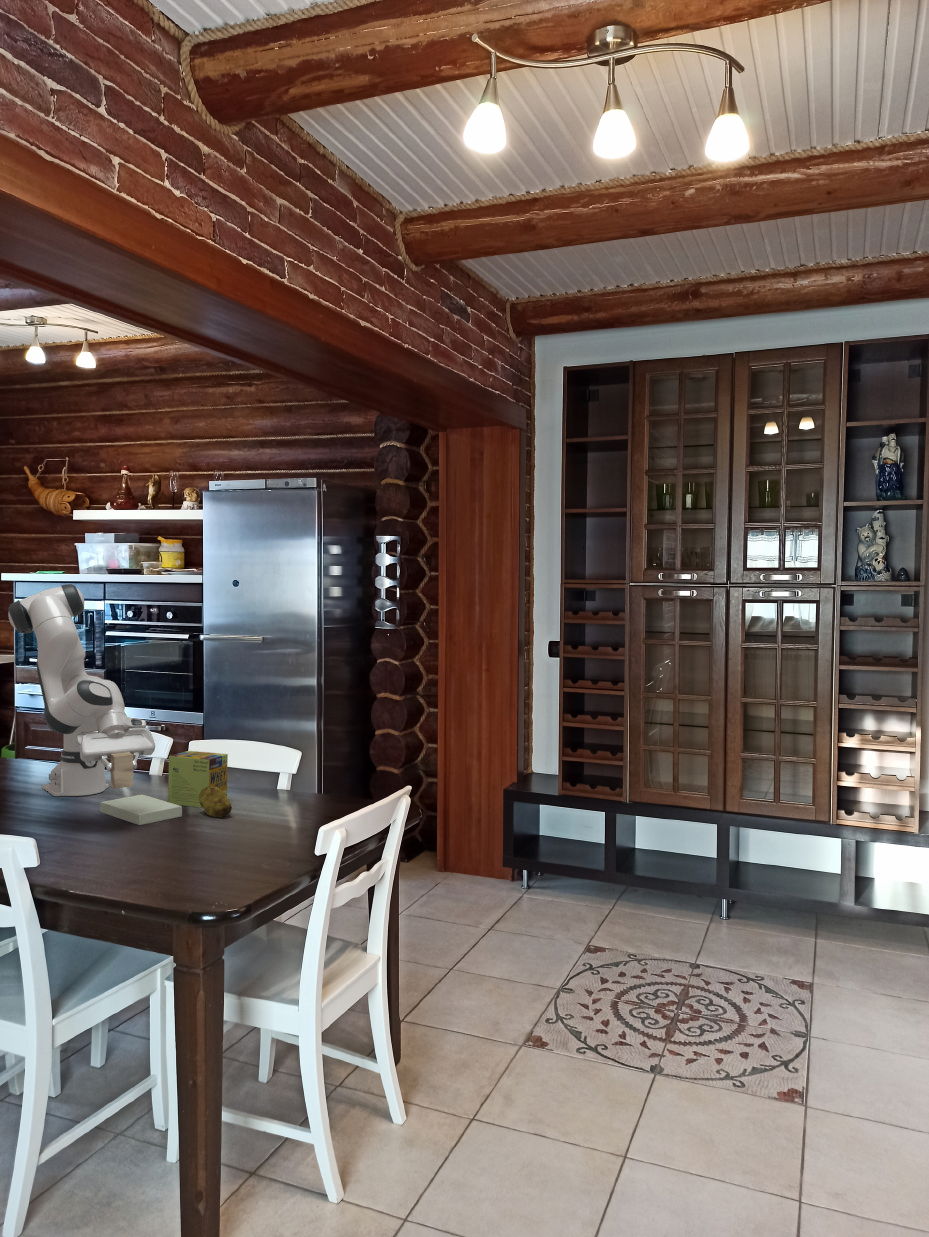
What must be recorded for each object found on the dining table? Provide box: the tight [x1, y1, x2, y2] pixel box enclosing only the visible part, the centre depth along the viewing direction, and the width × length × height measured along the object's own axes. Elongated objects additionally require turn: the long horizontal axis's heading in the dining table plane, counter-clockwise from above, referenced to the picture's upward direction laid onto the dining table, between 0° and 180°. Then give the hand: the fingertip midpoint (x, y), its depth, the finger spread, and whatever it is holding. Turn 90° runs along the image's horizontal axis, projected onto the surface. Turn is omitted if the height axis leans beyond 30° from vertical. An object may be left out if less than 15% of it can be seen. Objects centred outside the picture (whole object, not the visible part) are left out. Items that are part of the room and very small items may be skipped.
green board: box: [99, 794, 183, 826], centre depth 274 cm, size 22×14×3 cm, turn 50°
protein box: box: [167, 750, 228, 809], centre depth 290 cm, size 10×15×16 cm
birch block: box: [109, 752, 134, 789], centre depth 257 cm, size 5×5×9 cm
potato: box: [199, 786, 233, 818], centre depth 276 cm, size 8×13×8 cm, turn 27°
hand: (122, 768), depth 257 cm, fingers closed on birch block, 5 cm apart
